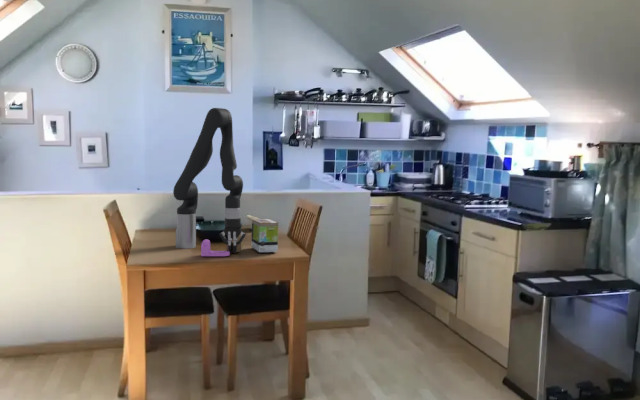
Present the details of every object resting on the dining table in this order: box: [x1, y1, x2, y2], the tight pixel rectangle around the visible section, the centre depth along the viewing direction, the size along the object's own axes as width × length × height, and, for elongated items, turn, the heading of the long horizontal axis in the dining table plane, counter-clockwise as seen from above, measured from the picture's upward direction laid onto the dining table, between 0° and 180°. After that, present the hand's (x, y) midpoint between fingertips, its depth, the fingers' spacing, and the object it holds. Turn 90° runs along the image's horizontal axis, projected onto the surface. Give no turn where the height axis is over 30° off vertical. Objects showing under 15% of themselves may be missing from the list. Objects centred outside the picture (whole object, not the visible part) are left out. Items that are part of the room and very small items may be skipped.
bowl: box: [246, 214, 260, 230], centre depth 326 cm, size 15×14×10 cm
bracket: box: [200, 239, 231, 257], centre depth 255 cm, size 13×6×7 cm, turn 97°
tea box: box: [251, 218, 279, 253], centre depth 269 cm, size 15×10×15 cm
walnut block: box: [225, 239, 242, 254], centre depth 263 cm, size 5×5×5 cm
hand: (232, 252), depth 259 cm, fingers closed
